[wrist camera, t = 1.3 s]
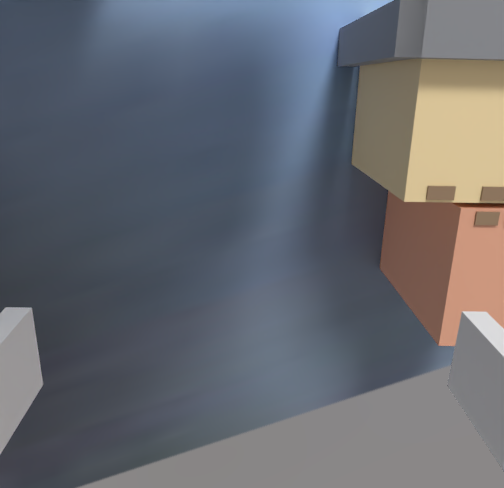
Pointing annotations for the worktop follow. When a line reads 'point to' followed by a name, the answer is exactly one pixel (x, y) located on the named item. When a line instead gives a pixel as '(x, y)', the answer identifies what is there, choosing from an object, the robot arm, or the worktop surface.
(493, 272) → the stub
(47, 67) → the worktop surface
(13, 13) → the worktop surface
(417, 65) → the block
